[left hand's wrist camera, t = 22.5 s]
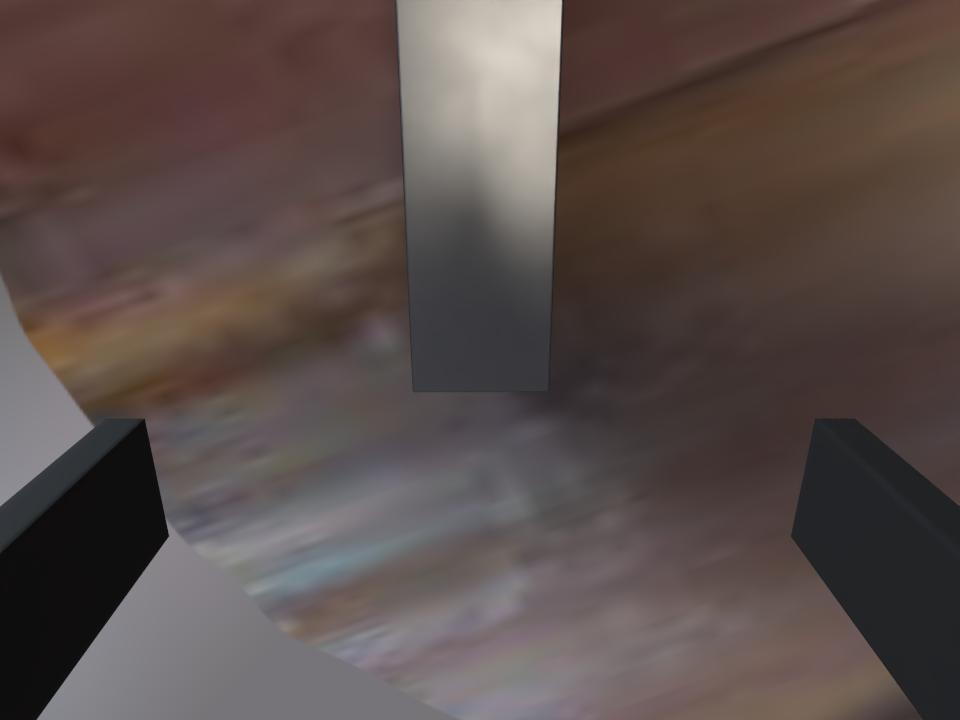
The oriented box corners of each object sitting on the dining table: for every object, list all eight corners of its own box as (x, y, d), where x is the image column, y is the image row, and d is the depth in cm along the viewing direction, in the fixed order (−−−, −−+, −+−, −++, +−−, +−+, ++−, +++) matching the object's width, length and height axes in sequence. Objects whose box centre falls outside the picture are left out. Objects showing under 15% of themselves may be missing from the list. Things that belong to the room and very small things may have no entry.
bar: (531, 318, 34) (549, 392, 26) (429, 319, 34) (412, 392, 26) (546, -246, 26) (580, -425, 17) (410, -245, 26) (375, -424, 17)
